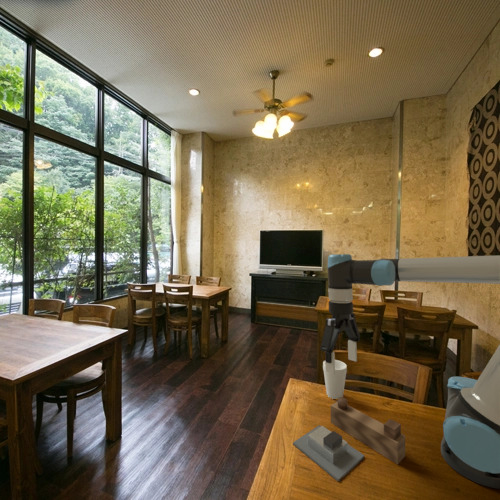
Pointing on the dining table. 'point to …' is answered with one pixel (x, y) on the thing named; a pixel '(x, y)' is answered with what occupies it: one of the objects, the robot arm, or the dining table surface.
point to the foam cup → (335, 380)
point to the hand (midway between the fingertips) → (342, 366)
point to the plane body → (370, 430)
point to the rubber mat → (334, 469)
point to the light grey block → (327, 444)
